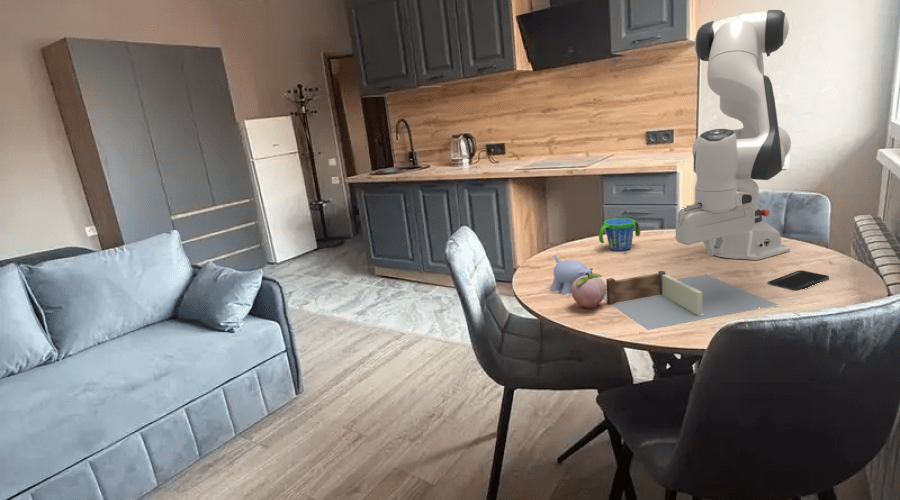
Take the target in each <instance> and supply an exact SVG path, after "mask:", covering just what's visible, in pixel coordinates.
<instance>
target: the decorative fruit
mask: <svg viewBox="0 0 900 500" xmlns="http://www.w3.org/2000/svg"><path fill="white" fill-rule="evenodd" d="M601 277H602V275H601V274H599V273H596V272H593V273H592V274H589V273H587V275H585V276H581V277H579V278H577V279H576V280H575V281H574V282H573V284H572V287H571V293H572V295H571V296H572V298H573V300H574V302H576V303H577V305H579V306H581V307H582V308H585V309H592V308H594V307H595V308H596V307H597V306H598V305H599V304H601V302H602V301H603V300H604V299H603V298H604V296H605V294H606V292H607V283H606V282H605V281H604V280H603V279H602V278H601Z"/></svg>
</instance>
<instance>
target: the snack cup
mask: <svg viewBox="0 0 900 500" xmlns="http://www.w3.org/2000/svg"><path fill="white" fill-rule="evenodd" d="M634 228H635V232H634ZM604 232H606V237H607V239H606V240H607V243H608V247H609V249H610V250H612V251H616V252H623V251H627V250H630V249H632V244H633V236H634V234H635V236H636V237H640V235H641V227H640V224H639V222H638V221H637V220H635V219H633V218H628V217H616V218H610V219H607V220H605V221H604V222H603V225H602V226H601V228H600V230H599V234H598V240H599V242H600V243H601V244H605V240H604Z"/></svg>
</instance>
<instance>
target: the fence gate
mask: <svg viewBox="0 0 900 500" xmlns="http://www.w3.org/2000/svg"><path fill="white" fill-rule="evenodd" d="M662 295H664V296H665V297H667V298H669V299H671V300H672V301H674V302H676V303H678V304H679V305H681V306H683V307H684V308H686V309H688V310H690V311H691V312H693V313H695V314H697V315H699V314H702V292H701V291H699V290H697V289H695V288H693V287H691V286H689V285H687V284H685V283H683V282H681V281H679V280H677V278H675V277H673V276H671V275H669V274H667V273H665V275H662Z"/></svg>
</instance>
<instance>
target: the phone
mask: <svg viewBox="0 0 900 500" xmlns="http://www.w3.org/2000/svg"><path fill="white" fill-rule="evenodd" d="M826 280H827V281H829V280H830V276H829V275H827V274H822V273H816V272H812V271H806V270H795V271H793V272H791V273H788V274H786V275H783V276H780V277H778V278H775V279H771V280H768V281H767V285H770V286H773V287H777V288H782V289H785V290H789V291H793V292H794V291H796V292H797V291H800V290H803V289H805V288H807V289H809V288H808V287H810V286H812V285H815V284H817V283H820V282H822V283H824V282H823V281H825V282H827V281H826ZM820 284H821V283H820ZM817 285H818V284H817ZM815 286H816V285H815ZM812 287H813V286H812ZM810 288H811V287H810ZM805 290H806V289H805Z"/></svg>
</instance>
